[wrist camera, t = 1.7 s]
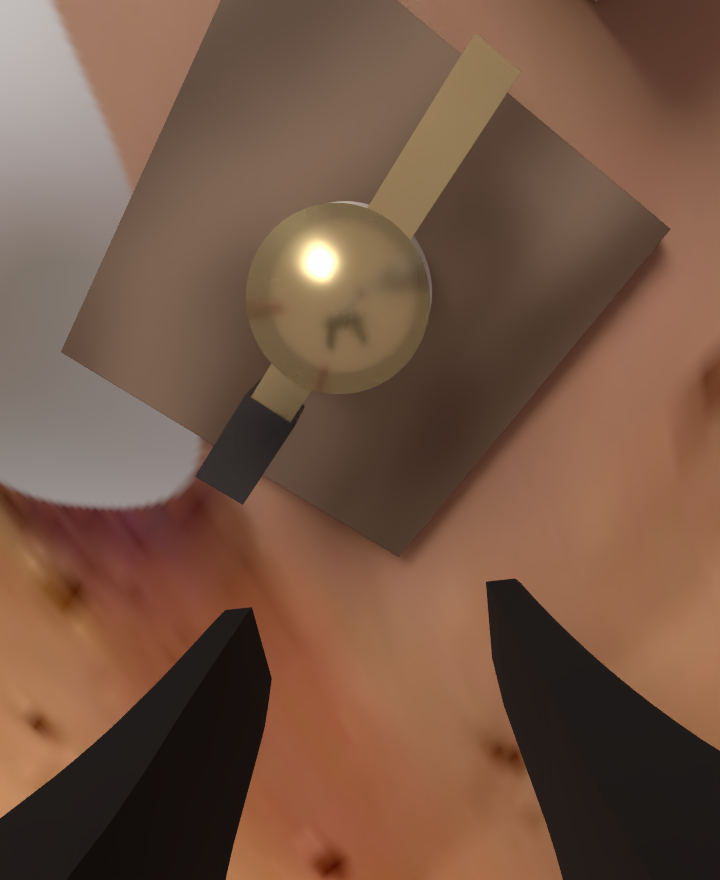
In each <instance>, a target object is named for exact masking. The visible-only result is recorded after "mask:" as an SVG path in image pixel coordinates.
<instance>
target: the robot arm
mask: <svg viewBox="0 0 720 880" xmlns="http://www.w3.org/2000/svg"><path fill="white" fill-rule="evenodd" d="M486 588H487V600H488V612H489V624H490V637H491V649H492V659H493V663H494V667H495V671H496V675H497V679H498V683H499V687H500V691H501V695H502V699H503V703H504V707H505V710H506V712H507V715H508V718H509V721H510V724H511V726H512V729H513V732H514V735H515V738H516V741H517V743H518V746H519V749H520V752H521V754H522V757H523V760H524V763H525V766H526V768H527V771H528V774H529V777H530V779H531V782H532V785H533V788H534V790H535V793H536V796H537V799H538V802H539V804H540V807H541V810H542V813H543V815H544V818H545V821H546V824H547V827H548V830H549V833H550V836H551V840H552V843H553V846H554V849H555V852H556V856H557V859H558V863H559V867H560V870H561V874H562V878H563V880H720V751H719V750H717V749H716V748H714V747H713V746H711V745H710V744H708V743H706V742H705V741H703V740H702V739H700V738H699V737H697V736H696V735H694V734H693V733H691V732H690V731H688V730H687V729H686V728H684V727H683V726H681V725H680V724H678V723H677V722H676V721H674V720H673V719H671V718H670V717H669V716H667V715H666V714H665V713H663V712H662V711H661V710H659V709H658V708H657V707H655V706H654V705H653V704H651V703H650V702H649V701H647V700H646V699H645V698H643V697H642V696H641V695H640V694H638V693H637V692H636V691H634V690H633V689H632V688H631V687H629V686H628V685H627V684H626V683H625V682H623V681H622V680H621V679H620V678H619V677H617V676H616V675H615V674H614V673H613V672H611V671H610V670H609V669H608V668H607V667H605V666H604V665H603V664H602V663H601V662H600V661H599V660H597V659H596V658H595V657H594V656H593V655H592V654H591V653H590V652H588V651H587V650H586V649H585V648H584V647H583V646H582V645H581V644H580V643H579V642H578V641H577V640H576V639H575V638H573V637H572V636H571V635H570V634H569V633H568V632H567V631H566V630H565V629H564V628H563V627H562V626H561V625H560V624H559V623H558V622H557V621H556V620H555V619H554V618H553V617H552V616H551V615H550V614H549V613H548V612H547V611H546V610H545V609H544V608H543V607H542V606H541V605H540V604H539V603H538V602H537V601H536V599H535V598H534V597H533V596H532V595H531V594H530V593H529V592H528V591H527V590H526V589H525V587H524V586H523V585H522V584H521V583H520V582H519V581H517V580H516V579H507V580H498V581H489V582H486ZM271 679H272V678H271V675H270V671H269V668H268V664H267V660H266V657H265V653H264V649H263V646H262V642H261V639H260V635H259V631H258V628H257V624H256V621H255V617H254V613H253V610H252V607H250V608H241V609H231V610H225V611H224V612H223V613H222V614H221V615H220V616H219V617H218V618H217V619H216V620H215V621H214V623H213V624H212V625H211V626H210V627H209V628H208V629H207V630H206V631H205V632H204V633H203V634H202V636H201V637H200V638H199V639H198V640H197V641H196V642H195V643H194V644H193V645H192V646H191V648H190V649H189V650H188V651H187V652H186V653H185V654H184V655H183V656H182V657H181V658H180V659H179V660H178V661H177V663H176V664H175V665H174V666H173V667H172V668H171V669H170V670H169V671H168V672H167V673H166V674H165V675H164V676H163V677H162V679H161V680H160V681H159V682H158V683H157V684H156V685H155V686H154V687H153V688H152V689H151V690H150V691H149V692H148V693H147V694H145V695H144V696H143V697H142V698H141V699H140V700H139V701H138V702H137V703H136V704H135V705H134V706H133V707H132V708H131V709H130V710H129V711H128V712H127V713H126V714H125V715H124V716H123V717H122V718H121V719H120V720H119V721H118V722H117V723H116V724H115V725H114V726H113V727H112V728H111V729H109V730H108V731H107V732H106V733H105V734H104V735H103V736H102V737H101V738H99V739H98V740H97V741H96V742H95V743H94V744H93V745H92V746H90V747H89V748H88V749H87V750H86V751H85V752H83V753H82V754H81V755H80V756H79V757H78V758H76V759H75V760H74V761H73V762H72V763H71V764H69V765H68V766H67V767H66V768H65V769H63V770H62V771H61V772H60V773H58V774H57V775H56V776H55V777H54V778H52V779H51V780H50V781H48V782H47V783H46V784H44V785H43V786H42V787H41V788H39V789H38V790H37V791H35V792H34V793H33V794H31V795H30V796H29V797H28V798H26V799H25V800H24V801H22V802H21V803H20V804H18V805H17V806H16V807H15V808H13V809H12V810H11V811H9V812H8V813H7V814H5V815H4V816H3V817H2V818H0V880H226V875H227V870H228V866H229V861H230V857H231V853H232V848H233V844H234V840H235V837H236V833H237V829H238V825H239V822H240V818H241V814H242V811H243V807H244V803H245V799H246V796H247V792H248V788H249V785H250V781H251V777H252V773H253V770H254V766H255V762H256V758H257V755H258V751H259V747H260V743H261V739H262V735H263V731H264V727H265V722H266V715H267V709H268V702H269V694H270V687H271Z"/></svg>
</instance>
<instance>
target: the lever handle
mask: <svg viewBox="0 0 720 880" xmlns="http://www.w3.org/2000/svg"><path fill="white" fill-rule="evenodd" d="M520 73H521V71H520V70H519V69H517V68H516V67H515V66H514V65H513V64H512V63H510V62H509V61H508V60H507V59H506V58H505V57H503V56H502V55H501V54H500V53H499V52H497V51H496V50H495V49H494V48H493V47H492V46H490V45H489V44H488V43H487V42H486V41H485V40H483V39H482V38H481V37H480V36H479V35H477V34H476V33H474V35H473V37H472V38H471V40H470V41H469V43H468V45H467V46H466V48H465V50H464V51H463V53H462V54H461V56H460V58H459V59H458V61H457V63H456V64H455V66H454V67H453V69H452V71H451V72H450V74H449V76H448V77H447V79H446V80H445V82H444V84H443V85H442V87H441V89H440V90H439V92H438V94H437V95H436V97H435V98H434V100H433V102H432V103H431V105H430V107H429V108H428V110H427V111H426V113H425V115H424V116H423V118H422V120H421V121H420V123H419V124H418V126H417V128H416V129H415V131H414V133H413V134H412V136H411V137H410V139H409V141H408V142H407V144H406V146H405V147H404V149H403V150H402V152H401V154H400V155H399V157H398V159H397V160H396V162H395V163H394V165H393V167H392V168H391V170H390V172H389V173H388V175H387V176H386V178H385V180H384V181H383V183H382V185H381V186H380V188H379V189H378V191H377V193H376V194H375V196H374V198H373V199H372V201H371V202H370V204H369V206H368V207H367V208H365V207H361V206H358V205H354V204H347V203H326V204H319V205H315V206H312V207H308V208H305V209H303V210H301V211H298V212H296V213H294V214H292V215H291V216H289V217H288V218H286V219H285V220H283V221H282V222H281V223H280V224H279V225H277V226H276V227H275V228H274V229H273V230H272V231H271V232H270V233H269V235H268V236H267V237H266V238H265V239H264V241H263V242H262V244H261V246H260V247H259V249H258V250H257V252H256V255H255V257H254V259H253V261H252V264H251V267H250V270H249V274H248V279H247V285H246V308H247V315H248V320H249V324H250V327H251V330H252V333H253V335H254V337H255V339H256V342H257V344H258V346H259V347H260V349H261V350H262V352H263V354H264V355H265V356H266V358H267V359H268V360H269V361H270V362H271V365H270V367H269V368H268V370H267V372H266V373H265V375H264V376H263V378H261V379H260V380H259V381H258V382H257V383H256V384H255V385H254V386H253V387H252V388H251V389H250V390H249V391H248V392H247V393H246V394H245V396H244V397H243V399H242V401H241V402H240V404H239V406H238V407H237V409H236V410H235V412H234V414H233V415H232V417H231V419H230V420H229V422H228V424H227V425H226V427H225V428H224V430H223V432H222V433H221V435H220V437H219V438H218V440H217V442H216V443H215V445H214V447H213V448H212V450H211V451H210V453H209V455H208V456H207V458H206V460H205V461H204V463H203V465H202V466H201V468H200V470H199V471H198V473H197V474H196V476H195V477H197V478H198V479H200V480H202V481H204V482H205V483H207V484H209V485H210V486H212V487H214V488H215V489H217V490H219V491H220V492H222V493H224V494H226V495H227V496H229V497H231V498H232V499H234V500H236V501H237V502H239V503H241V504H242V505H243V504H244V502H245V501H246V499H247V498H248V496H249V495H250V493H251V492H252V490H253V489H254V487H255V486H256V484H257V483H258V481H259V480H260V478H261V477H262V475H263V474H264V472H265V471H266V469H267V468H268V466H269V465H270V463H271V461H272V460H273V458H274V457H275V455H276V454H277V452H278V451H279V449H280V448H281V446H282V445H283V443H284V442H285V440H286V439H287V437H288V436H289V434H290V433H291V431H292V430H293V428H294V427H295V425H296V423H297V421H298V419H299V417H300V415H301V413H302V411H303V409H304V407H305V406H304V405H303V402H304V401H305V399H306V398H307V396H308V395H309V393H310V392H311V390H314V391H318V392H322V393H329V394H351V393H357V392H361V391H365V390H368V389H371V388H373V387H376V386H378V385H380V384H382V383H384V382H385V381H387V380H389V379H390V378H391V377H393V376H394V375H395V374H397V373H398V372H399V371H400V370H401V369H402V368H403V367H404V366H405V365H406V364H407V363H408V361H409V360H410V359H411V358H412V356H413V355H414V353H415V352H416V350H417V348H418V347H419V345H420V343H421V340H422V338H423V336H424V333H425V330H426V327H427V324H428V318H429V313H430V288H429V282H428V277H427V273H426V270H425V267H424V264H423V261H422V259H421V257H420V255H419V253H418V251H417V250H416V248H415V247H414V245H413V244H412V242H411V241H410V240H411V238H412V237H413V235H414V234H415V232H416V231H417V229H418V228H419V226H420V225H421V223H422V222H423V220H424V218H425V217H426V215H427V214H428V212H429V211H430V209H431V208H432V206H433V205H434V203H435V202H436V200H437V199H438V197H439V196H440V194H441V193H442V191H443V190H444V188H445V187H446V185H447V184H448V182H449V180H450V179H451V177H452V176H453V174H454V173H455V171H456V170H457V168H458V167H459V165H460V164H461V162H462V161H463V159H464V158H465V156H466V155H467V153H468V152H469V150H470V149H471V147H472V145H473V144H474V142H475V141H476V139H477V138H478V136H479V135H480V133H481V132H482V130H483V129H484V127H485V126H486V124H487V123H488V121H489V120H490V118H491V117H492V115H493V114H494V112H495V111H496V109H497V107H498V106H499V104H500V103H501V101H502V100H503V98H504V97H505V95H506V94H507V92H508V91H509V89H510V88H511V86H512V85H513V83H514V82H515V80H516V79H517V77H518V76H519V74H520Z"/></svg>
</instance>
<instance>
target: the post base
mask: <svg viewBox="0 0 720 880" xmlns="http://www.w3.org/2000/svg"><path fill="white" fill-rule="evenodd" d="M460 56H461V54H460V53H459V52H458V51H457V50H456V49H454V48H453V47H452V46H451V45H450V44H448V43H447V42H446V41H445V40H444V39H442V38H441V37H440V36H439V35H438V34H436V33H435V32H434V31H433V30H432V29H430V28H429V27H428V26H427V25H426V24H425V23H423V22H422V21H421V20H420V19H419V18H417V17H416V16H415V15H414V14H413V13H411V12H410V11H409V10H408V9H407V8H405V7H404V6H403V5H402V4H401V3H399V2H398V1H397V0H221V1H220V4H219V6H218V8H217V10H216V12H215V14H214V17H213V19H212V21H211V23H210V25H209V28H208V30H207V32H206V34H205V36H204V39H203V41H202V43H201V45H200V47H199V50H198V52H197V54H196V56H195V58H194V61H193V63H192V65H191V67H190V69H189V72H188V74H187V76H186V78H185V80H184V83H183V85H182V87H181V89H180V91H179V94H178V96H177V98H176V100H175V102H174V105H173V107H172V109H171V111H170V113H169V116H168V118H167V120H166V122H165V124H164V127H163V129H162V131H161V133H160V135H159V138H158V140H157V142H156V144H155V146H154V149H153V151H152V153H151V155H150V157H149V160H148V162H147V164H146V166H145V168H144V171H143V173H142V175H141V177H140V179H139V182H138V184H137V186H136V188H135V190H134V193H133V195H132V197H131V199H130V201H129V204H128V206H127V208H126V210H125V213H124V215H123V217H122V219H121V221H120V223H119V225H118V228H117V230H116V232H115V234H114V236H113V239H112V241H111V243H110V245H109V247H108V250H107V252H106V254H105V256H104V258H103V261H102V263H101V265H100V267H99V269H98V272H97V274H96V276H95V278H94V280H93V283H92V285H91V287H90V289H89V291H88V294H87V296H86V298H85V301H84V302H83V305H82V307H81V309H80V311H79V313H78V316H77V318H76V320H75V322H74V324H73V327H72V329H71V331H70V333H69V335H68V338H67V340H66V342H65V344H64V346H63V349H62V351H61V352H62V353H64V354H65V355H67V356H69V357H70V358H72V359H73V360H75V361H77V362H79V363H80V364H82V365H83V366H85V367H86V368H88V369H90V370H91V371H93V372H95V373H97V374H98V375H100V376H101V377H103V378H105V379H106V380H108V381H110V382H111V383H113V384H114V385H116V386H118V387H119V388H121V389H123V390H125V391H126V392H128V393H129V394H131V395H133V396H134V397H136V398H138V399H139V400H141V401H142V402H144V403H146V404H148V405H149V406H151V407H152V408H154V409H156V410H157V411H159V412H161V413H162V414H164V415H166V416H167V417H169V418H170V419H172V420H174V421H175V422H177V423H179V424H180V425H182V426H184V427H185V428H187V429H189V430H191V431H192V432H194V433H195V434H197V435H198V436H200V437H202V438H203V439H205V440H207V441H208V442H210V443H212V444H213V445H215V443H216V442H217V440H218V438H219V437H220V435H221V433H222V432H223V430H224V428H225V427H226V425H227V424H228V422H229V420H230V419H231V417H232V415H233V414H234V412H235V410H236V409H237V407H238V406H239V404H240V402H241V401H242V399H243V397H244V396H245V394H246V393H247V392H248V391H249V390H250V389H251V388H252V387H253V386H254V385H255V384H256V383H257V382H258V381H259V380H260V379H261V378H263V376H264V375H265V373H266V372H267V370H268V368H269V367H270V365H271V362H270V361H269V360H268V359H267V358H266V356H265V355H264V354H263V352H262V350H261V349H260V347H259V346H258V344H257V342H256V339H255V337H254V335H253V333H252V330H251V327H250V324H249V320H248V315H247V308H246V285H247V279H248V274H249V270H250V267H251V264H252V261H253V259H254V257H255V255H256V252H257V250H258V249H259V247H260V246H261V244H262V242H263V241H264V239H265V238H266V237H267V236H268V235H269V233H270V232H271V231H272V230H273V229H274V228H275V227H276V226H277V225H279V224H280V223H281V222H282V221H283V220H285V219H286V218H288V217H289V216H291V215H292V214H294V213H296V212H298V211H301V210H303V209H305V208H308V207H312V206H315V205H319V204H326V203H347V204H354V205H358V206H361V207H365V208H367V207H368V206H369V204H370V202H371V201H372V199H373V198H374V196H375V194H376V193H377V191H378V189H379V188H380V186H381V185H382V183H383V181H384V180H385V178H386V176H387V175H388V173H389V172H390V170H391V168H392V167H393V165H394V163H395V162H396V160H397V159H398V157H399V155H400V154H401V152H402V150H403V149H404V147H405V146H406V144H407V142H408V141H409V139H410V137H411V136H412V134H413V133H414V131H415V129H416V128H417V126H418V124H419V123H420V121H421V120H422V118H423V116H424V115H425V113H426V111H427V110H428V108H429V107H430V105H431V103H432V102H433V100H434V98H435V97H436V95H437V94H438V92H439V90H440V89H441V87H442V85H443V84H444V82H445V80H446V79H447V77H448V76H449V74H450V72H451V71H452V69H453V67H454V66H455V64H456V63H457V61H458V59H459V58H460ZM669 230H670V228H669V227H668V226H666V225H665V224H664V223H663V222H662V221H660V220H659V219H658V218H657V217H656V216H654V215H653V214H652V213H651V212H650V211H648V210H647V209H646V208H645V207H644V206H642V205H641V204H640V203H639V202H638V201H636V200H635V199H634V198H633V197H632V196H630V195H629V194H628V193H627V192H626V191H624V190H623V189H622V188H621V187H620V186H618V185H617V184H616V183H615V182H614V181H612V180H611V179H610V178H609V177H608V176H606V175H605V174H604V173H603V172H602V171H601V170H599V169H598V168H597V167H596V166H595V165H593V164H592V163H591V162H590V161H589V160H587V159H586V158H585V157H584V156H583V155H581V154H580V153H579V152H578V151H577V150H575V149H574V148H573V147H572V146H571V145H569V144H568V143H567V142H566V141H565V140H563V139H562V138H561V137H560V136H559V135H557V134H556V133H555V132H554V131H553V130H551V129H550V128H549V127H548V126H547V125H545V124H544V123H543V122H542V121H541V120H539V119H538V118H537V117H536V116H535V115H533V114H532V113H531V112H530V111H529V110H527V109H526V108H525V107H524V106H523V105H521V104H520V103H519V102H518V101H517V100H515V99H514V98H513V97H512V96H511V95H510V94H508V93H507V94H506V95H505V97H504V98H503V100H502V101H501V103H500V104H499V106H498V107H497V109H496V111H495V112H494V114H493V115H492V117H491V118H490V120H489V121H488V123H487V124H486V126H485V127H484V129H483V130H482V132H481V133H480V135H479V136H478V138H477V139H476V141H475V142H474V144H473V145H472V147H471V149H470V150H469V152H468V153H467V155H466V156H465V158H464V159H463V161H462V162H461V164H460V165H459V167H458V168H457V170H456V171H455V173H454V174H453V176H452V177H451V179H450V180H449V182H448V184H447V185H446V187H445V188H444V190H443V191H442V193H441V194H440V196H439V197H438V199H437V200H436V202H435V203H434V205H433V206H432V208H431V209H430V211H429V212H428V214H427V215H426V217H425V218H424V220H423V222H422V223H421V225H420V226H419V228H418V229H417V231H416V232H415V234H414V235H413V237H412V238H411V240H410V241H411V242H412V244H413V245H414V247H415V248H416V250H417V251H418V253H419V255H420V257H421V259H422V261H423V264H424V267H425V270H426V273H427V277H428V282H429V288H430V313H429V318H428V324H427V327H426V330H425V333H424V336H423V338H422V340H421V343H420V345H419V347H418V348H417V350H416V352H415V353H414V355H413V356H412V358H411V359H410V360H409V361H408V363H407V364H406V365H405V366H404V367H403V368H402V369H401V370H400V371H399V372H398V373H397V374H395V375H394V376H393V377H391V378H390V379H389V380H387V381H385V382H384V383H382V384H380V385H378V386H376V387H373V388H371V389H368V390H365V391H361V392H357V393H351V394H329V393H322V392H318V391H314V390H311V392H310V393H309V395H308V396H307V398H306V399H305V401H304V402H303V405H304V406H305V407H304V409H303V411H302V413H301V415H300V417H299V419H298V421H297V423H296V425H295V427H294V428H293V430H292V431H291V433H290V434H289V436H288V437H287V439H286V440H285V442H284V443H283V445H282V446H281V448H280V449H279V451H278V452H277V454H276V455H275V457H274V458H273V460H272V461H271V463H270V465H269V466H268V468H267V469H266V471H265V472H264V474H263V475H264V476H266V477H268V478H269V479H271V480H273V481H274V482H276V483H278V484H279V485H281V486H282V487H284V488H286V489H287V490H289V491H291V492H292V493H294V494H296V495H297V496H299V497H301V498H302V499H304V500H306V501H307V502H309V503H310V504H312V505H314V506H315V507H317V508H319V509H320V510H322V511H324V512H325V513H327V514H329V515H330V516H332V517H334V518H335V519H337V520H338V521H340V522H342V523H343V524H345V525H347V526H348V527H350V528H352V529H353V530H355V531H357V532H358V533H360V534H362V535H363V536H365V537H366V538H368V539H370V540H371V541H373V542H375V543H376V544H378V545H380V546H381V547H383V548H385V549H386V550H388V551H390V552H391V553H393V554H394V555H396V556H398V557H399V556H400V555H401V554H402V553H403V551H404V550H405V549H406V548H407V547H408V545H409V544H410V543H411V542H412V541H413V539H414V538H415V537H416V536H417V535H418V533H419V532H420V531H421V530H422V529H423V527H424V526H425V525H426V524H427V523H428V521H429V520H430V519H431V518H432V516H433V515H434V514H435V513H436V512H437V510H438V509H439V508H440V507H441V506H442V504H443V503H444V502H445V501H446V500H447V498H448V497H449V496H450V495H451V494H452V492H453V491H454V490H455V489H456V487H457V486H458V485H459V484H460V483H461V481H462V480H463V479H464V478H465V477H466V475H467V474H468V473H469V472H470V471H471V469H472V468H473V467H474V466H475V465H476V463H477V462H478V461H479V460H480V459H481V457H482V456H483V455H484V454H485V452H486V451H487V450H488V449H489V448H490V446H491V445H492V444H493V443H494V442H495V440H496V439H497V438H498V437H499V436H500V434H501V433H502V432H503V431H504V430H505V428H506V427H507V426H508V425H509V423H510V422H511V421H512V420H513V419H514V417H515V416H516V415H517V414H518V413H519V411H520V410H521V409H522V408H523V407H524V405H525V404H526V403H527V402H528V401H529V399H530V398H531V397H532V396H533V395H534V393H535V392H536V391H537V390H538V388H539V387H540V386H541V385H542V384H543V382H544V381H545V380H546V379H547V378H548V376H549V375H550V374H551V373H552V372H553V370H554V369H555V368H556V367H557V366H558V364H559V363H560V362H561V361H562V359H563V358H564V357H565V356H566V355H567V353H568V352H569V351H570V350H571V349H572V347H573V346H574V345H575V344H576V343H577V341H578V340H579V339H580V338H581V337H582V335H583V334H584V333H585V332H586V331H587V329H588V328H589V327H590V326H591V324H592V323H593V322H594V321H595V320H596V318H597V317H598V316H599V315H600V314H601V312H602V311H603V310H604V309H605V308H606V306H607V305H608V304H609V303H610V302H611V300H612V299H613V298H614V297H615V295H616V294H617V293H618V292H619V291H620V289H621V288H622V287H623V286H624V285H625V283H626V282H627V281H628V280H629V279H630V277H631V276H632V275H633V274H634V273H635V271H636V270H637V269H638V268H639V267H640V265H641V264H642V263H643V262H644V260H645V259H646V258H647V257H648V256H649V254H650V253H651V252H652V251H653V250H654V248H655V247H656V246H657V245H658V244H659V242H660V241H661V240H662V239H663V238H664V236H665V235H666V234H667V233H668V231H669Z"/></svg>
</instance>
